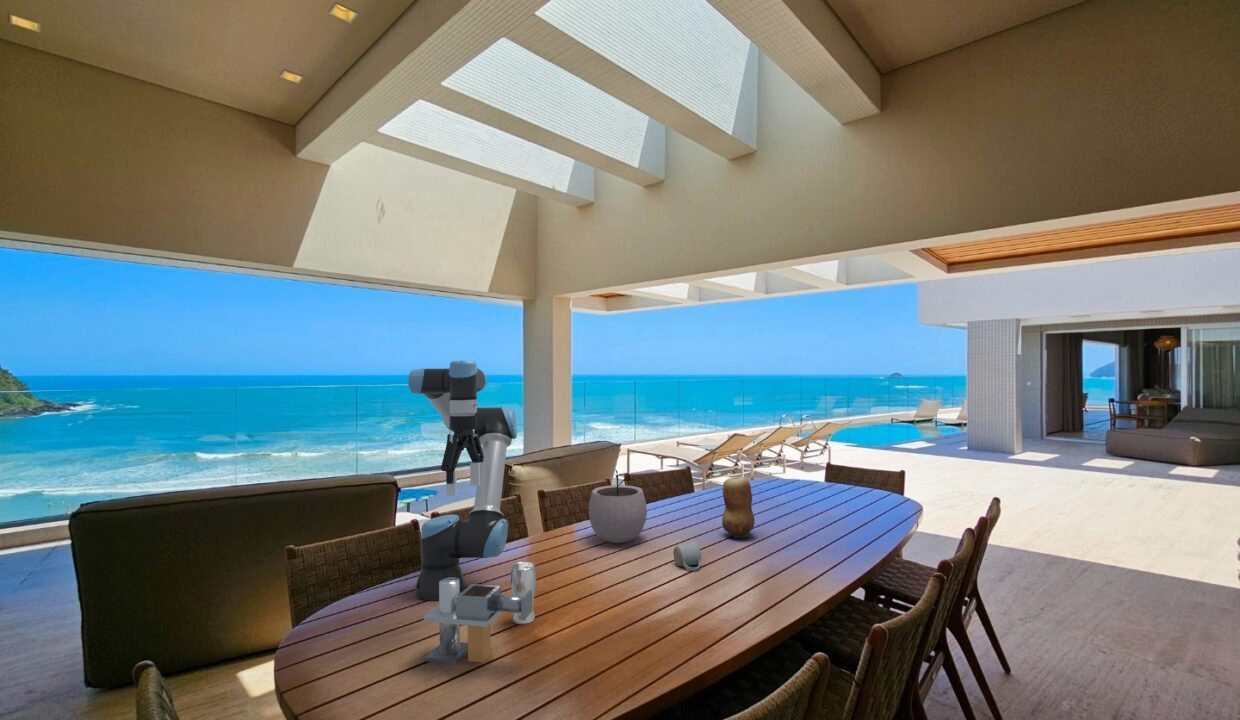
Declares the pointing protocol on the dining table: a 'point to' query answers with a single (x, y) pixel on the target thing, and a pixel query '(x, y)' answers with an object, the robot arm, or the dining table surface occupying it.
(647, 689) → the dining table surface
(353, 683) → the dining table surface
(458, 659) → the metal pedestal stand
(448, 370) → the robot arm
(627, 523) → the plant pot
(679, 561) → the ceramic mug
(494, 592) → the bracket
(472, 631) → the tan wooden block
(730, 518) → the butternut squash
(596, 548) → the dining table surface
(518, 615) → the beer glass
